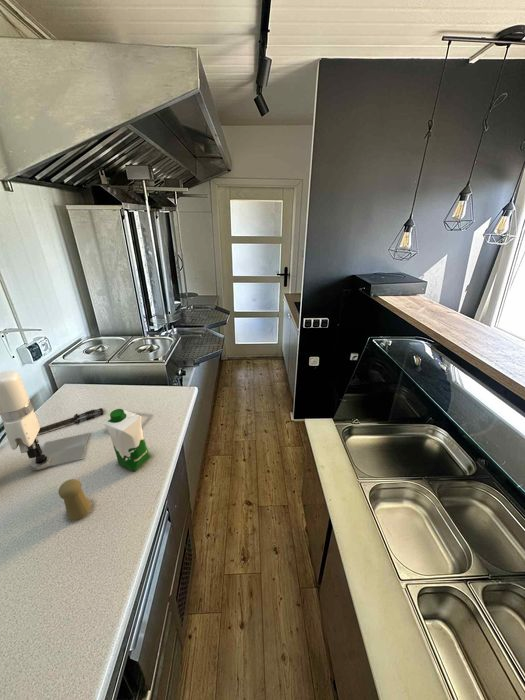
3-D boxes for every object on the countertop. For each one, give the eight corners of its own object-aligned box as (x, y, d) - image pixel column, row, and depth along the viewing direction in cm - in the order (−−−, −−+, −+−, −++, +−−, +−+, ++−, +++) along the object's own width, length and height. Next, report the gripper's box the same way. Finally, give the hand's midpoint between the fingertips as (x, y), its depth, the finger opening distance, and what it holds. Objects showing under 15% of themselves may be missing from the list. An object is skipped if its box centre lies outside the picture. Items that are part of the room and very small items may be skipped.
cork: (63, 514, 80) (50, 487, 76) (85, 498, 85) (74, 471, 80) (74, 525, 77) (61, 498, 72) (96, 508, 82) (85, 481, 77)
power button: (35, 464, 94) (34, 461, 93) (38, 458, 96) (36, 455, 95) (45, 462, 94) (43, 459, 94) (47, 456, 97) (45, 453, 96)
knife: (29, 439, 107) (28, 436, 107) (32, 428, 113) (31, 425, 112) (104, 417, 118) (103, 414, 118) (103, 409, 123) (102, 406, 123)
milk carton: (135, 448, 102) (122, 403, 94) (154, 456, 99) (143, 410, 90) (114, 466, 95) (99, 419, 86) (134, 475, 92) (120, 427, 83)
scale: (31, 473, 93) (28, 468, 92) (44, 444, 105) (42, 439, 104) (82, 461, 97) (80, 456, 96) (89, 434, 109) (87, 429, 108)
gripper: (11, 398, 91) (30, 442, 99) (-11, 428, 78) (13, 476, 86) (39, 394, 93) (55, 437, 101) (22, 423, 81) (42, 470, 89)
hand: (36, 455), depth 94 cm, fingers closed
